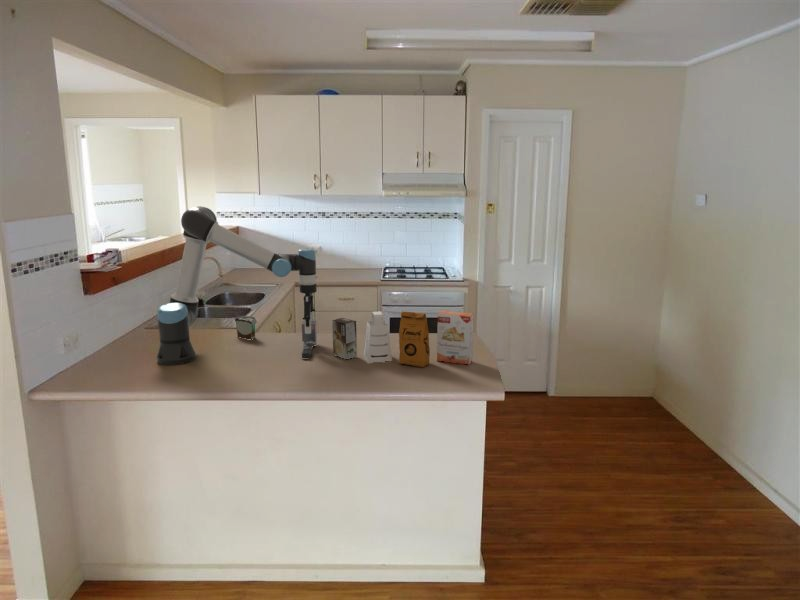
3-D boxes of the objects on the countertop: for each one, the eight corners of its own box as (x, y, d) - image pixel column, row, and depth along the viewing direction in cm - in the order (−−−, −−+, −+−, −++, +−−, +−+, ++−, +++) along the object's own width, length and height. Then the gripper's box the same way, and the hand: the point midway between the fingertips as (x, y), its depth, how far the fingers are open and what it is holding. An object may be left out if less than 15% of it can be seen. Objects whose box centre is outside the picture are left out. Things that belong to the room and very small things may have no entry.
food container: (263, 338, 268) (262, 318, 266) (253, 341, 263) (252, 320, 261) (245, 334, 275) (244, 314, 273) (235, 337, 270) (234, 317, 268)
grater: (367, 363, 231) (366, 316, 227) (363, 355, 241) (363, 310, 237) (392, 361, 233) (392, 315, 229) (387, 354, 243) (387, 309, 239)
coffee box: (357, 357, 239) (357, 320, 236) (346, 360, 235) (345, 323, 231) (343, 352, 246) (342, 317, 242) (332, 355, 241) (331, 319, 238)
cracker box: (436, 361, 233) (437, 313, 229) (440, 357, 238) (441, 310, 234) (469, 365, 228) (470, 316, 224) (472, 361, 233) (474, 312, 229)
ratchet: (313, 358, 237) (312, 340, 235) (298, 359, 237) (298, 341, 235) (317, 343, 259) (316, 327, 257) (304, 344, 258) (303, 327, 257)
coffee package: (423, 369, 223) (423, 316, 219) (395, 365, 229) (395, 313, 224) (433, 362, 232) (433, 311, 227) (406, 358, 237) (406, 308, 233)
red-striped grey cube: (315, 341, 253) (315, 324, 251) (302, 341, 252) (301, 324, 251) (317, 337, 259) (316, 320, 257) (303, 337, 258) (302, 320, 257)
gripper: (313, 288, 238) (315, 336, 242) (318, 278, 262) (319, 322, 267) (296, 288, 237) (298, 337, 242) (302, 278, 262) (304, 322, 266)
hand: (309, 329), depth 254 cm, fingers open, 13 cm apart
